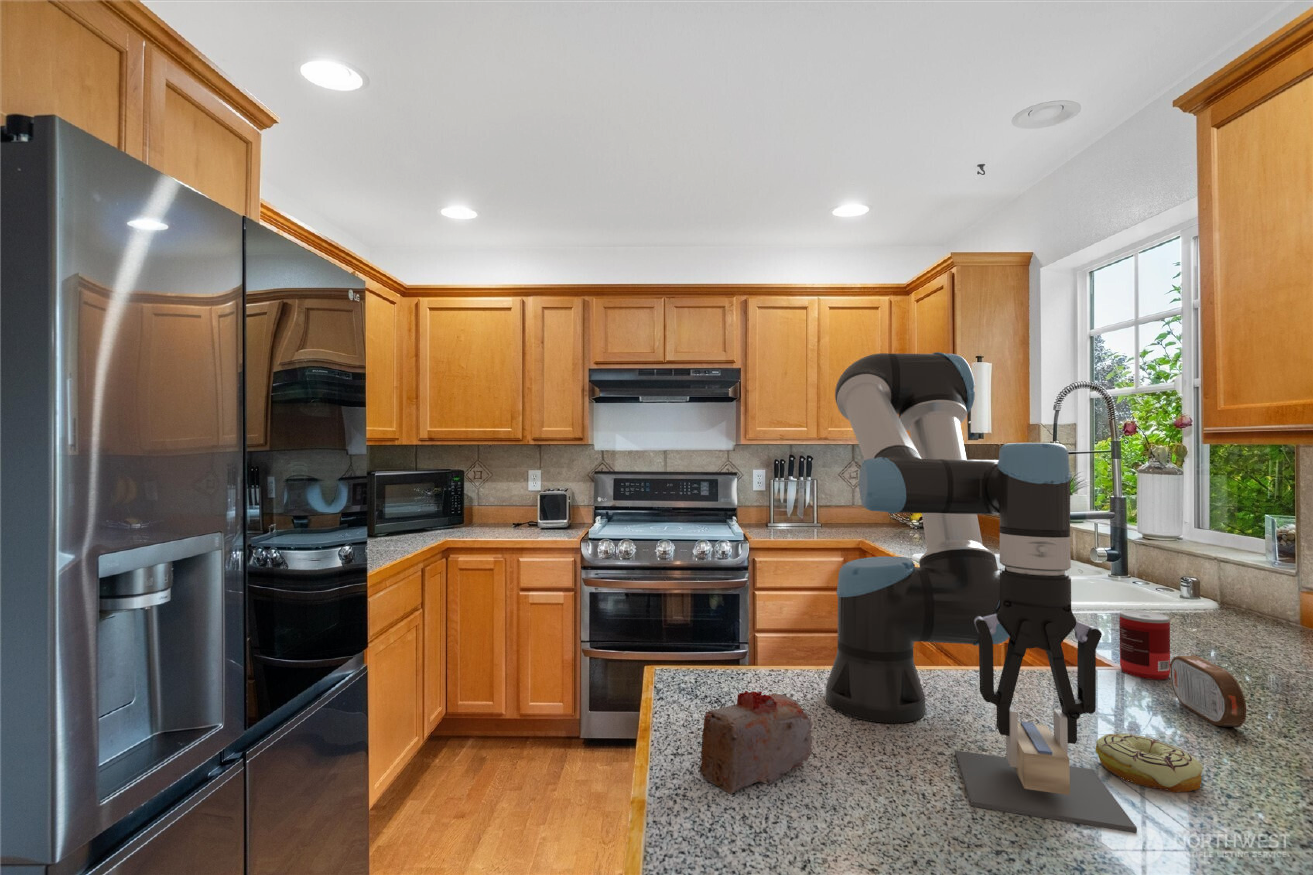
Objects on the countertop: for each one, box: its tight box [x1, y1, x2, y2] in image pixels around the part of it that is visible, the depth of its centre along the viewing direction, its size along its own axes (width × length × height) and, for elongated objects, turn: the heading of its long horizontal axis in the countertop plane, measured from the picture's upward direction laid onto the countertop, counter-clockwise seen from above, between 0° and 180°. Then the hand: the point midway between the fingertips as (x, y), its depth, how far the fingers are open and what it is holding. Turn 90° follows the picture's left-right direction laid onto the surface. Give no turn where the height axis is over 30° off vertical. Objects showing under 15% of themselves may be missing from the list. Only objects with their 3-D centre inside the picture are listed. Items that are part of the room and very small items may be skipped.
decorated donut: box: [1095, 732, 1204, 793], centre depth 83 cm, size 10×11×4 cm
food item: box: [699, 690, 813, 795], centre depth 82 cm, size 14×8×10 cm, turn 127°
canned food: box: [1118, 609, 1171, 681], centre depth 124 cm, size 8×8×11 cm
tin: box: [1170, 654, 1247, 728], centre depth 103 cm, size 15×3×8 cm, turn 168°
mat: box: [954, 750, 1138, 833], centre depth 79 cm, size 16×14×1 cm
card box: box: [1014, 721, 1070, 795], centre depth 79 cm, size 10×4×4 cm, turn 162°
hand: (1036, 765), depth 78 cm, fingers closed on card box, 4 cm apart
